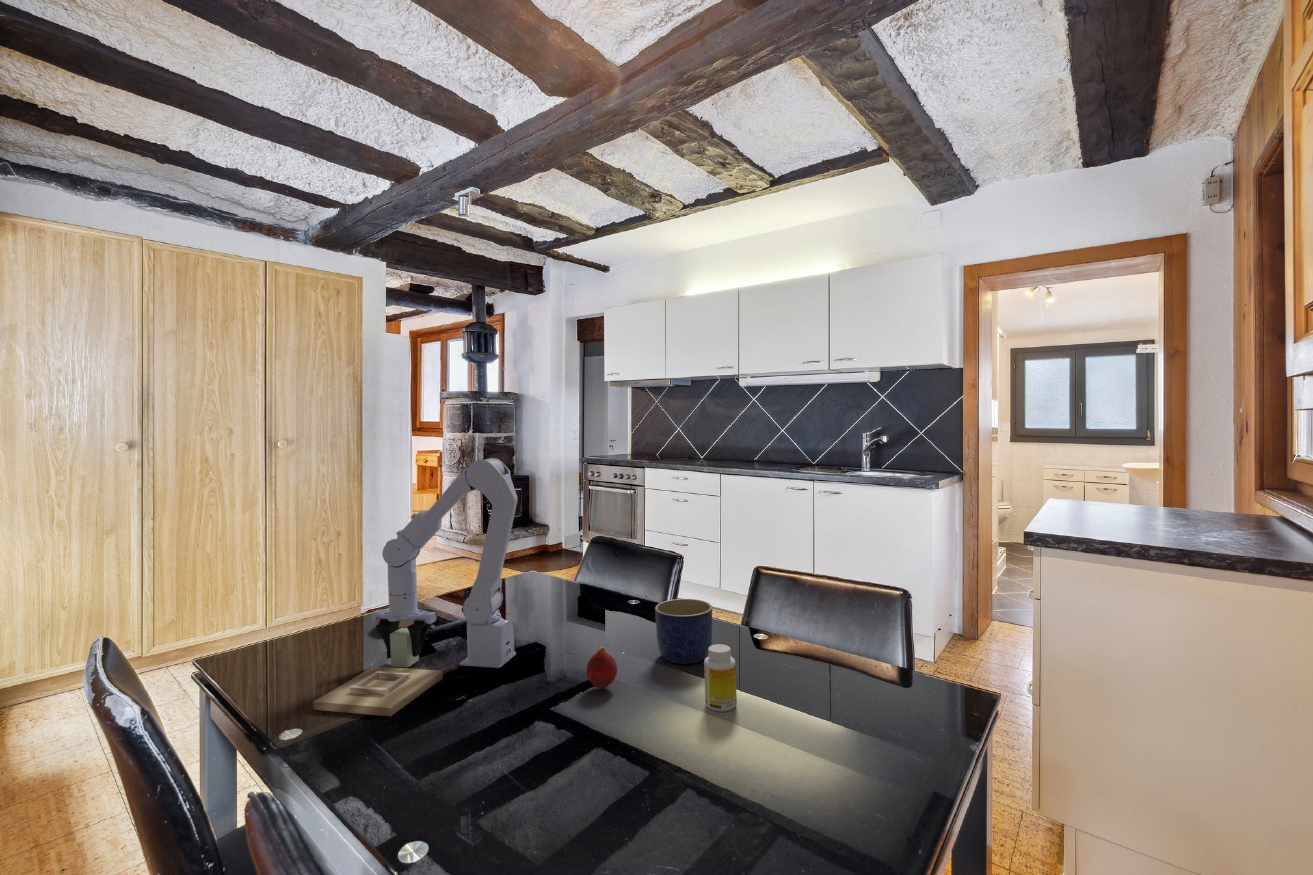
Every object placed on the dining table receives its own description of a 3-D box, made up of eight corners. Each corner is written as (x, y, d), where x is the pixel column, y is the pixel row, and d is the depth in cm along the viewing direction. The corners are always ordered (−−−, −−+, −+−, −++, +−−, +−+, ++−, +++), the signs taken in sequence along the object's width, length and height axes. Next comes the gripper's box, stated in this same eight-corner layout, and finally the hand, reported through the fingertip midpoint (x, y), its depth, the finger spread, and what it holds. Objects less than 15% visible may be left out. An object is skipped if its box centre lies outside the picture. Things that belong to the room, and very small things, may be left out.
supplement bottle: (743, 708, 101) (741, 650, 101) (716, 715, 99) (714, 656, 99) (725, 695, 106) (724, 640, 106) (699, 702, 104) (697, 645, 104)
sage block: (418, 660, 128) (417, 628, 128) (407, 667, 124) (406, 634, 124) (402, 658, 128) (401, 627, 128) (391, 666, 125) (390, 633, 125)
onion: (612, 697, 107) (611, 654, 107) (582, 695, 108) (581, 652, 108) (620, 683, 112) (619, 642, 112) (592, 681, 114) (591, 641, 114)
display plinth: (442, 678, 117) (442, 665, 117) (390, 716, 102) (390, 702, 102) (374, 673, 121) (373, 661, 121) (313, 709, 105) (313, 695, 105)
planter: (647, 664, 122) (646, 612, 122) (668, 643, 133) (667, 596, 133) (703, 671, 117) (702, 618, 117) (720, 649, 128) (719, 601, 128)
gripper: (360, 596, 124) (363, 659, 124) (421, 598, 121) (423, 663, 121) (383, 587, 131) (385, 647, 131) (440, 589, 127) (442, 650, 128)
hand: (404, 654), depth 126 cm, fingers open, 5 cm apart
